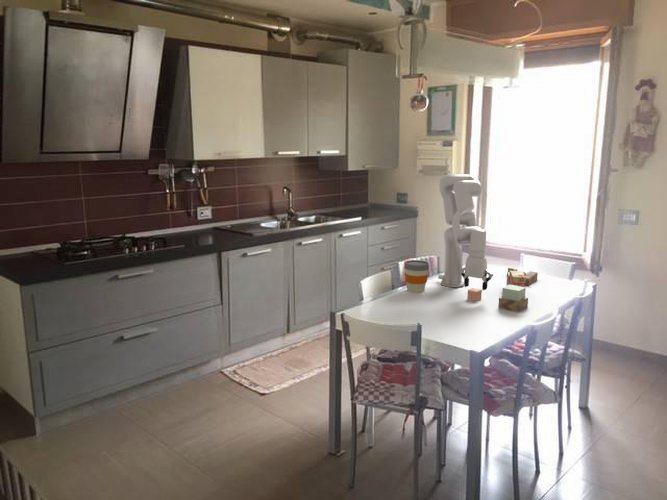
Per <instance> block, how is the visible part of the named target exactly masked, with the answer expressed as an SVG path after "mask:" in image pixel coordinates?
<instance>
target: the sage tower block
mask: <svg viewBox="0 0 667 500" xmlns="http://www.w3.org/2000/svg"><path fill="white" fill-rule="evenodd" d="M506 285H507V284H506ZM506 285H505V286H504V287H502V291H501V297H502V298H504V299H509V300H514V301H520V300H522V299H523V298H525V297H526V290H527V288H526V286H525V287H520V286H515V285H507V286H506Z"/></svg>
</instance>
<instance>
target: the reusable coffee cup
mask: <svg viewBox="0 0 667 500" xmlns="http://www.w3.org/2000/svg"><path fill="white" fill-rule="evenodd" d="M404 263H405V264H404V270H405V272H404V278H405V279H404V280H405V282H406V290H407V292H408V293H413V294H422V292H423V293H425V289H426V285H427V282H428V276H429V273H428V272H429V268H430V264H429V262H427V261H425V260H413V259H412V260H407V261H405V262H404Z"/></svg>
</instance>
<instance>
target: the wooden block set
mask: <svg viewBox="0 0 667 500" xmlns="http://www.w3.org/2000/svg"><path fill="white" fill-rule="evenodd" d="M510 271H518V269H517V268H512V267H507V272H510ZM522 272H523V273H524V275H525V277H526V280H525V287H526V286H527V287H528V286H530V285H531V284H533V283H535V282H536V281H537V280H538V276H539V275H538V274H539V273H538V272H537V271H530V270H529V271H528V272H527V273H526V272H525V271H522Z"/></svg>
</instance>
